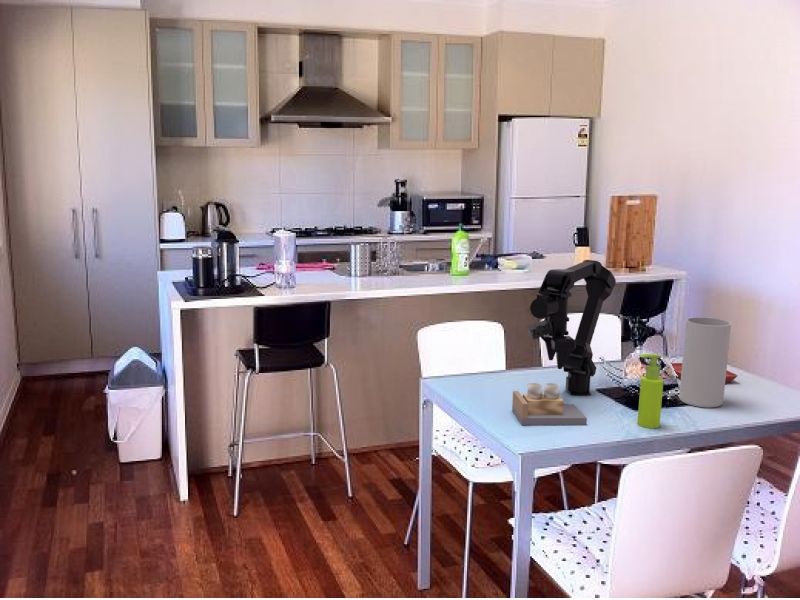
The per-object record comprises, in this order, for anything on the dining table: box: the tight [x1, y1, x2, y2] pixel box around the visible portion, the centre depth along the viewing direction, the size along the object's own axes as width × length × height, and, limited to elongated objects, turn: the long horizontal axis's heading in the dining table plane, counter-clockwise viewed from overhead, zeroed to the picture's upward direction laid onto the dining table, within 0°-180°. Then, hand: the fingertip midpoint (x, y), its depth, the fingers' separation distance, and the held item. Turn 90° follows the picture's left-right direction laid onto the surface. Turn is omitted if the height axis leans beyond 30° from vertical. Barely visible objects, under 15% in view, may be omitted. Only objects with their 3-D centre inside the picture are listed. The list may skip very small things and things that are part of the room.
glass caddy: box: [522, 382, 564, 415], centre depth 217 cm, size 10×6×8 cm, turn 95°
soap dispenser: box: [637, 353, 664, 429], centre depth 212 cm, size 6×7×20 cm
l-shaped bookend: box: [511, 390, 588, 426], centre depth 217 cm, size 18×12×6 cm, turn 95°
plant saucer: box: [671, 362, 738, 384], centre depth 263 cm, size 18×18×3 cm
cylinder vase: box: [678, 316, 732, 409], centre depth 233 cm, size 12×12×25 cm
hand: (555, 364), depth 230 cm, fingers open, 9 cm apart
